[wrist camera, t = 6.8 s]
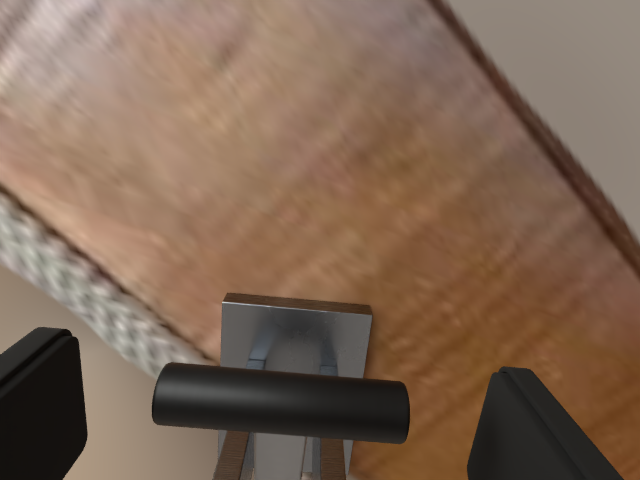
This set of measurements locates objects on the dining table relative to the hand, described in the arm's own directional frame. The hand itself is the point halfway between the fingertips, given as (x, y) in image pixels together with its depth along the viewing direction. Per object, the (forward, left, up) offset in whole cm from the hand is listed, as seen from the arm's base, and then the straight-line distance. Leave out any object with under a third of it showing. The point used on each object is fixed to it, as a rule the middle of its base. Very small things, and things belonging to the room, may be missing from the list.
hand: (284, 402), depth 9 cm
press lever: (+3, +3, -2) cm, 5 cm away
